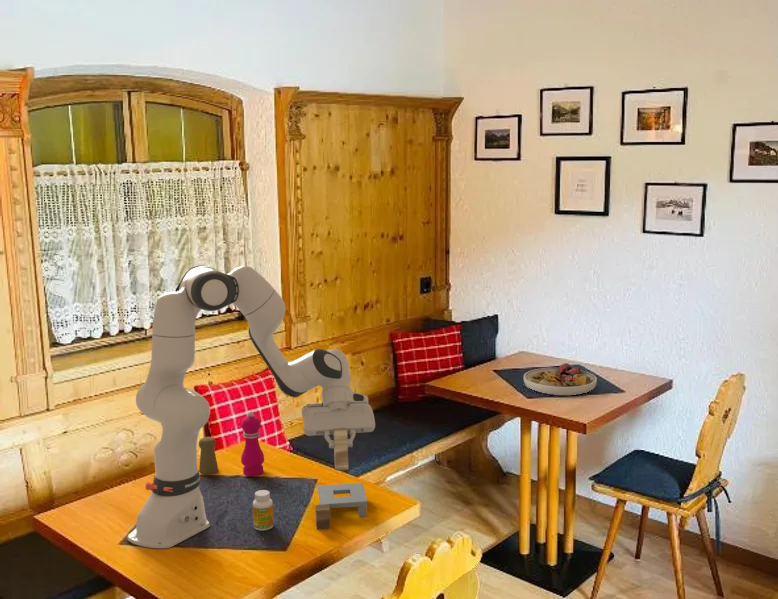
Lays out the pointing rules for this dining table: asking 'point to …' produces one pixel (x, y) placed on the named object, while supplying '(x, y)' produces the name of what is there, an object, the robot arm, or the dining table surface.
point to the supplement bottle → (262, 511)
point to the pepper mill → (252, 446)
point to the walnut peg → (323, 516)
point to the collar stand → (354, 499)
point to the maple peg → (341, 449)
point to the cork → (207, 456)
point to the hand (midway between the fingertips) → (341, 446)
